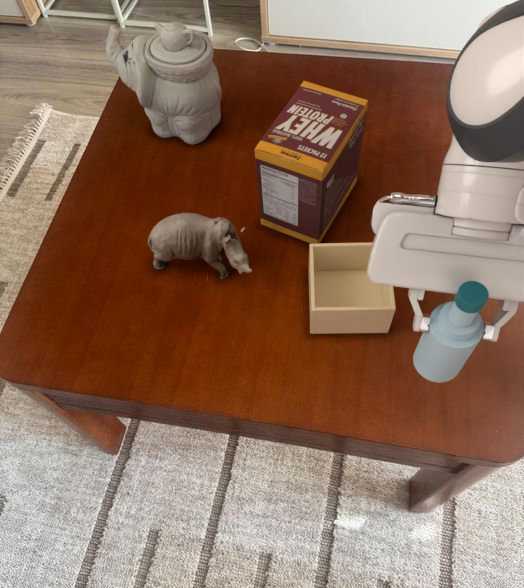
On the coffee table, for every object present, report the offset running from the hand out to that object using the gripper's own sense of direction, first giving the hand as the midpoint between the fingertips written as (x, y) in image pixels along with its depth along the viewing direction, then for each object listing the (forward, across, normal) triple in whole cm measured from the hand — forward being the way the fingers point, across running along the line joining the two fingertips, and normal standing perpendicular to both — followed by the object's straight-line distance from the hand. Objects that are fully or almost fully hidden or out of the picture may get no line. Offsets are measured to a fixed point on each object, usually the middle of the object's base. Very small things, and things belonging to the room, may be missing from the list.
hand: (453, 335), depth 56 cm
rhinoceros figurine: (0, -34, +23) cm, 41 cm away
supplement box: (-10, -20, +33) cm, 40 cm away
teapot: (-21, -47, +44) cm, 68 cm away
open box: (+2, -12, +20) cm, 24 cm away
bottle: (+5, 0, +6) cm, 8 cm away
